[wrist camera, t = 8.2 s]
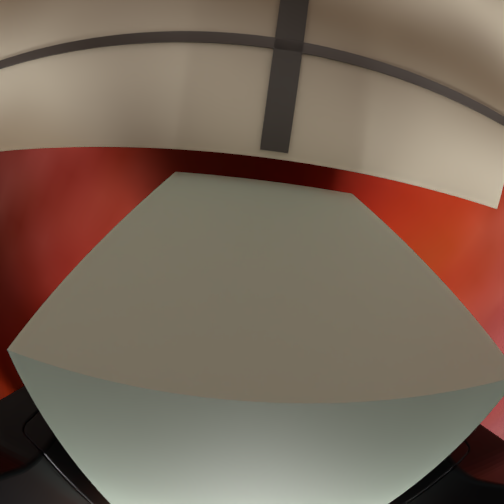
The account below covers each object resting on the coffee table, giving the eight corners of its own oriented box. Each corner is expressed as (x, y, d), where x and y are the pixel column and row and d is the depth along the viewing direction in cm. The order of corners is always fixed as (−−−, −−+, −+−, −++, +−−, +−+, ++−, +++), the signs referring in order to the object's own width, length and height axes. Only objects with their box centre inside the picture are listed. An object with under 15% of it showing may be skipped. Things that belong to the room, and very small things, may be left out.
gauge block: (287, 411, 13) (301, 552, 6) (178, 402, 12) (153, 544, 6) (351, 193, 8) (518, 375, 2) (175, 171, 8) (6, 349, 2)
